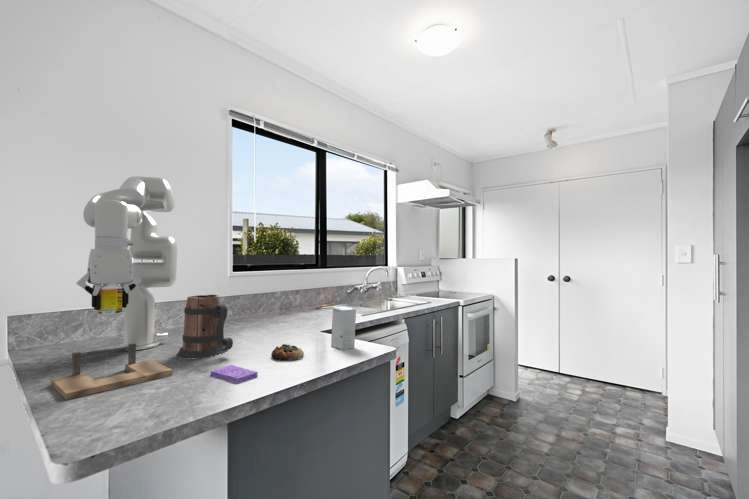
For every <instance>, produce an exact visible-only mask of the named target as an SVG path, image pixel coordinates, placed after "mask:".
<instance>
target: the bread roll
mask: <svg viewBox="0 0 749 499" xmlns="http://www.w3.org/2000/svg"><path fill="white" fill-rule="evenodd" d="M304 354H305V353H304V351H303V350H302V348H301V347H298V346H296V345H290V344H286V343H283V344H282V345H281V346H278V345H277V346H276V347H274V349H273V350H272V352H271V359H273V360H274V361H280V362H281V361H282V362H284V361H285V362H286V361H287V362H288V361H289V360H291V361H297V360H300V359H299V358H301V359H303V356H304Z"/></svg>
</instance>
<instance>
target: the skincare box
mask: <svg viewBox="0 0 749 499" xmlns="http://www.w3.org/2000/svg"><path fill="white" fill-rule="evenodd" d="M356 316H357V309H355V308H352V307H350V306H349V307H348V306H345V305H344V306H332V316H331V317H332V319H331V321H332V322H331V337H330V338H331V339H330V345H331V347H335V348H336V349H339V350H341V351H344V350H349V348H351V349H354V348H355V339H356V319H357V318H356Z"/></svg>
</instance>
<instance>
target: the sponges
mask: <svg viewBox="0 0 749 499" xmlns="http://www.w3.org/2000/svg"><path fill="white" fill-rule="evenodd" d="M258 373H259V372H258V371H256V370H252V369H248V368H244V367H241V366H238V365H237V366H236V365H233V364H230V365H227V366H223V367H220V368H218V369H214V370H210V376H212V377H216V378H219V379H223V380H225V381H229V382H232V383H235V384H240V383H242V382H245V381H248V380H251V379H253V378H254V379H255V378H257V377H258V376H259V375H258Z"/></svg>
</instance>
